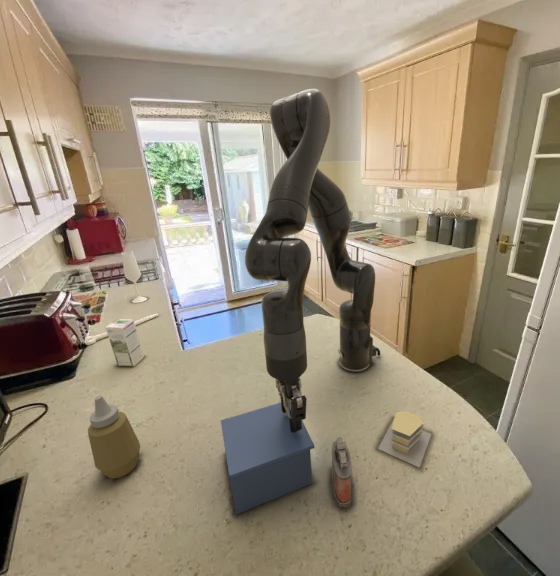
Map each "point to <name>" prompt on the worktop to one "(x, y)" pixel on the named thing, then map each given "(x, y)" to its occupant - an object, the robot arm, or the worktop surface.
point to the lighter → (341, 472)
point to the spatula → (93, 339)
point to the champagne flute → (132, 272)
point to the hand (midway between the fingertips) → (291, 419)
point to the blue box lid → (261, 439)
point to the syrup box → (125, 342)
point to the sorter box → (271, 481)
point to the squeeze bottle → (112, 440)
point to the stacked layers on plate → (406, 438)
